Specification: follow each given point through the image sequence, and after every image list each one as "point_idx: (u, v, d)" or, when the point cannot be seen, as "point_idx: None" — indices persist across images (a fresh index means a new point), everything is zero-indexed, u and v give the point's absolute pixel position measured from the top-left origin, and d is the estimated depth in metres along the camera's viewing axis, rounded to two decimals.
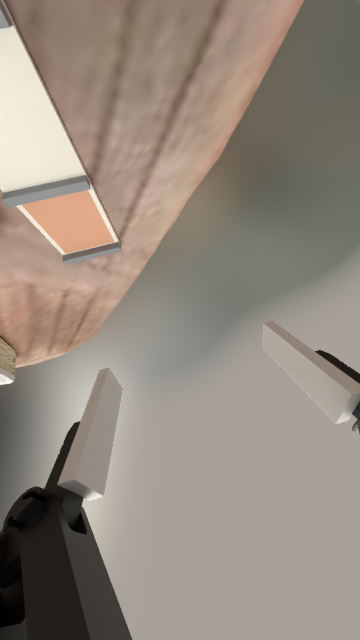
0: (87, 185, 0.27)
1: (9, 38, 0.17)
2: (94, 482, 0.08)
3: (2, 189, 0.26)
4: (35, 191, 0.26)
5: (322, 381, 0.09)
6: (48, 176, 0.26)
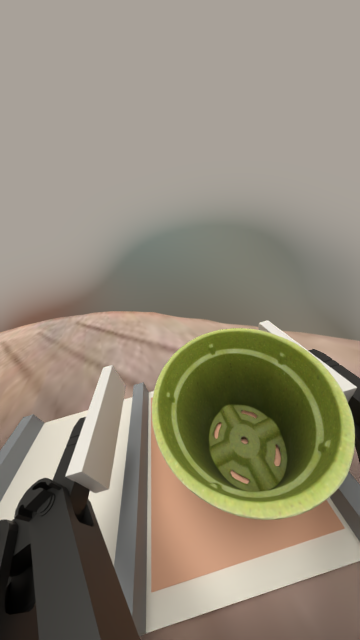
0: (138, 385, 0.19)
1: (44, 430, 0.19)
2: (100, 475, 0.08)
3: None
4: (124, 482, 0.12)
5: None
6: (127, 451, 0.15)
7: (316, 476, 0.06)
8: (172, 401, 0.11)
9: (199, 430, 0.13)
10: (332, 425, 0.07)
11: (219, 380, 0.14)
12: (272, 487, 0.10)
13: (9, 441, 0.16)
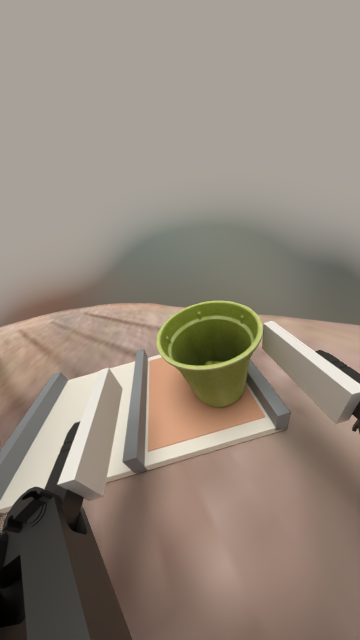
0: (140, 350, 0.25)
1: (69, 384, 0.25)
2: (94, 482, 0.08)
3: (126, 467, 0.14)
4: (130, 401, 0.18)
5: (322, 381, 0.09)
6: None
7: None
8: (169, 342, 0.16)
9: None
10: None
11: (203, 339, 0.20)
12: None
13: (46, 387, 0.23)
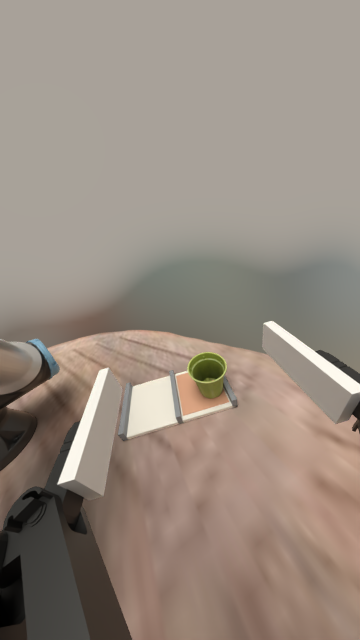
0: (171, 371, 0.48)
1: (134, 388, 0.48)
2: (94, 482, 0.08)
3: (175, 421, 0.37)
4: (172, 396, 0.41)
5: (322, 381, 0.09)
6: (170, 392, 0.44)
7: None
8: (191, 370, 0.40)
9: None
10: None
11: (205, 368, 0.43)
12: None
13: (126, 390, 0.45)
